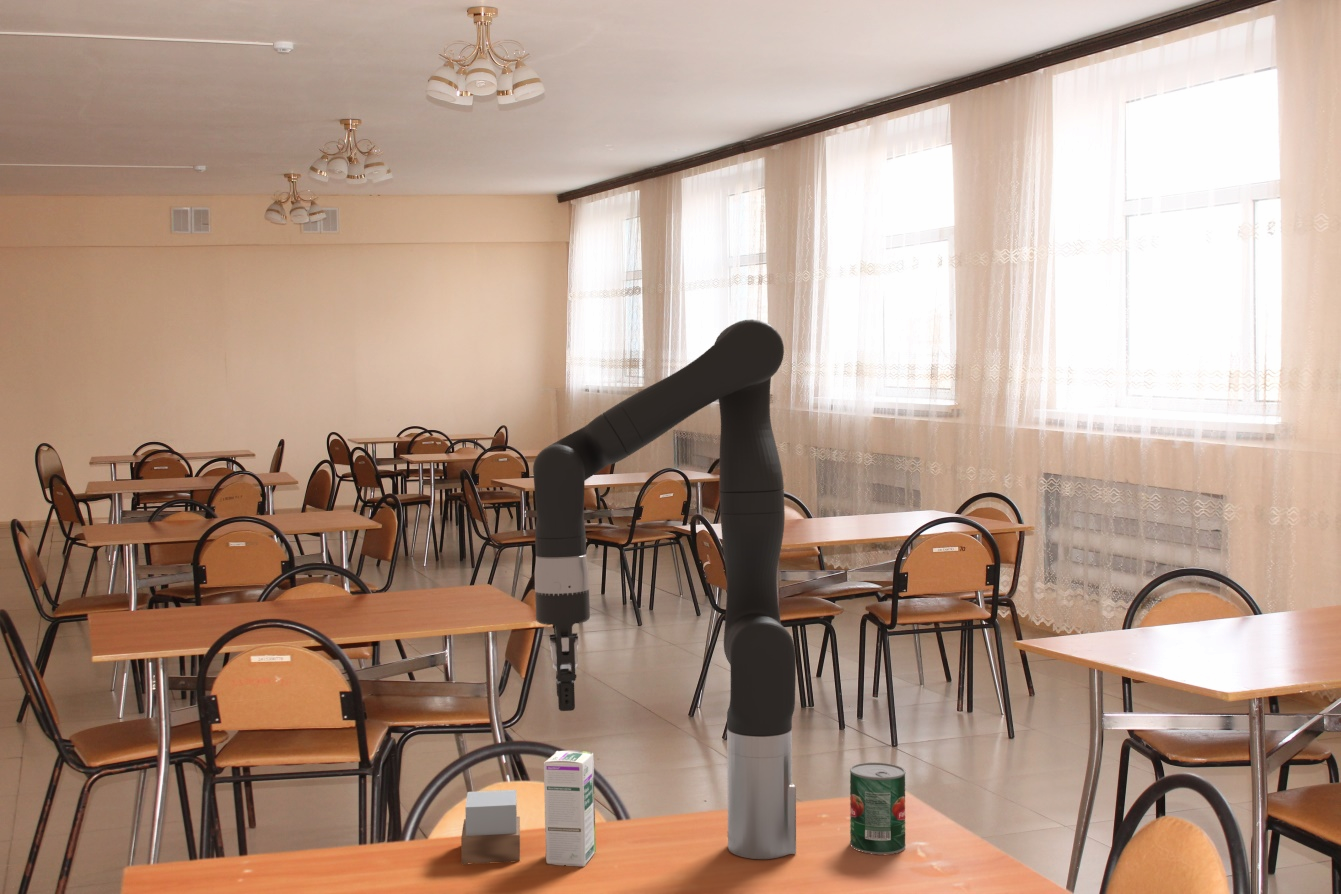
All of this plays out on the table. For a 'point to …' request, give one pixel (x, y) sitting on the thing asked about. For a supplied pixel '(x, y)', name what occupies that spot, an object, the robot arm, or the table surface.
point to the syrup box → (569, 808)
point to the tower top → (491, 812)
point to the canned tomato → (877, 808)
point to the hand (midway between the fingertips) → (565, 703)
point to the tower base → (490, 847)
